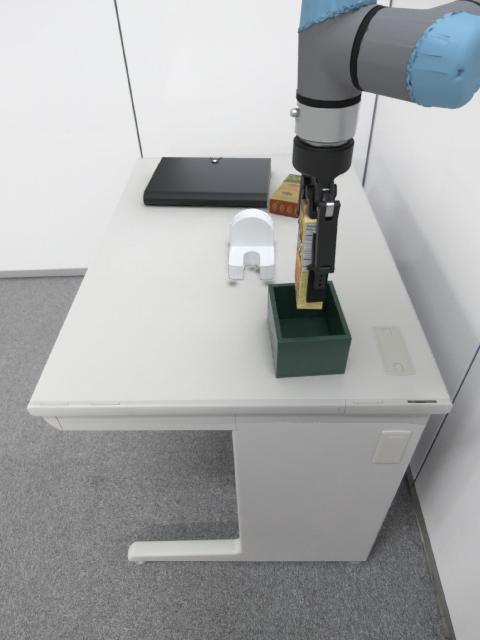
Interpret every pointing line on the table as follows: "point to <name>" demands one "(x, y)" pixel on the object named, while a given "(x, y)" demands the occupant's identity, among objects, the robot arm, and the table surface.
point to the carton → (286, 197)
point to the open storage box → (307, 334)
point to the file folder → (210, 182)
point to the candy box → (304, 256)
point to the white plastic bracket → (251, 243)
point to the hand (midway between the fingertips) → (309, 280)
